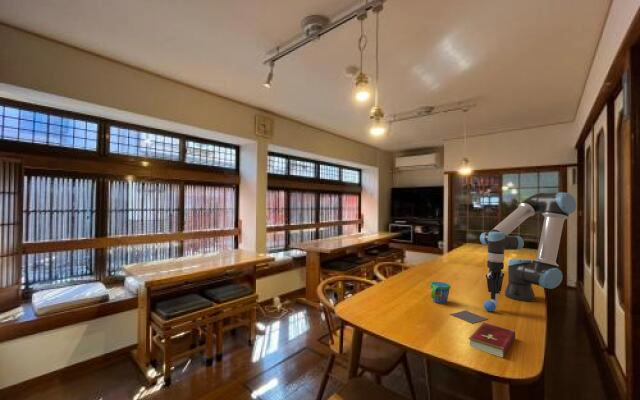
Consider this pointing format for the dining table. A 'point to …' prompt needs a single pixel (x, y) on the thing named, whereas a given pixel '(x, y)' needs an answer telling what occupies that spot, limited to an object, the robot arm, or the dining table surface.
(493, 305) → the ball
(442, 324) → the dining table surface
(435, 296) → the snack cup
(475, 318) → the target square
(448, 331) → the dining table surface
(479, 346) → the hardcover book
